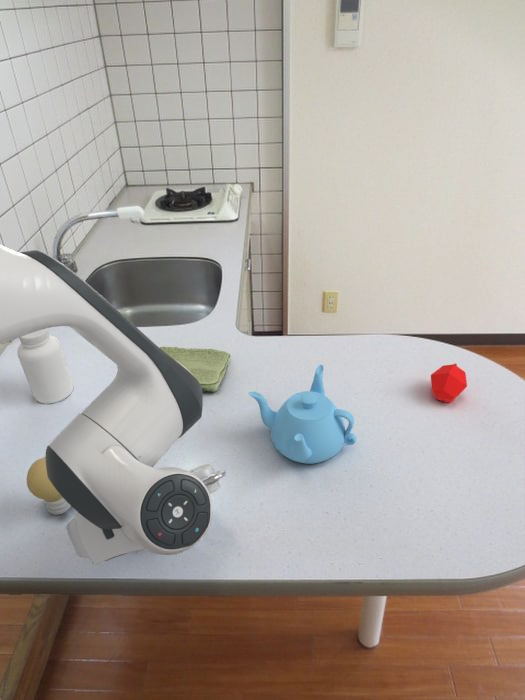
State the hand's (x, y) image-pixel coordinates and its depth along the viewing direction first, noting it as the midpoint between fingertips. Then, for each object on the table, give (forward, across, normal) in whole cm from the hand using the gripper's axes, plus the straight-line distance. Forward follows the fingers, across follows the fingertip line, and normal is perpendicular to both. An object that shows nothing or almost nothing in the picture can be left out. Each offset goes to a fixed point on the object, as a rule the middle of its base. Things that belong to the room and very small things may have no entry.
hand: (140, 504), depth 76 cm
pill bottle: (+33, +5, -26) cm, 42 cm away
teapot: (+6, -30, +2) cm, 31 cm away
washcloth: (+27, -21, -19) cm, 39 cm away
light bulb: (+12, +10, -4) cm, 16 cm away
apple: (+3, -61, +6) cm, 61 cm away
